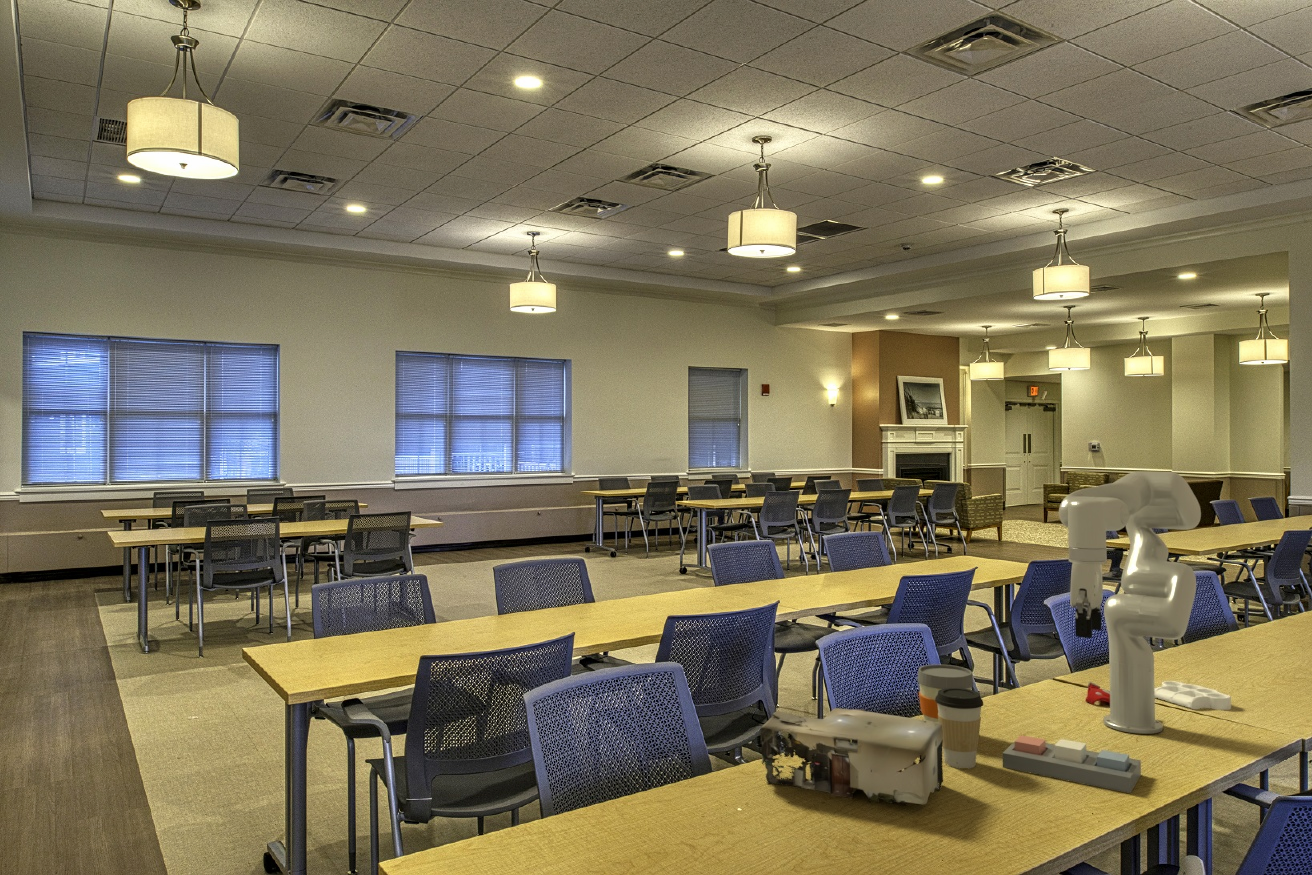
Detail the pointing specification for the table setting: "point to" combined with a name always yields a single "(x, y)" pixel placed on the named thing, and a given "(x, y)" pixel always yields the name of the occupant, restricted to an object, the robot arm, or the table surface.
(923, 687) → the reusable coffee cup
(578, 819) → the table surface
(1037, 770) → the keypad base
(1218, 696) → the white egg tray
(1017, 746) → the brick-red key
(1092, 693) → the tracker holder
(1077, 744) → the off-white key
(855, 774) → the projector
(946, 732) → the coffee cup
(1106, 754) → the slate-blue key
